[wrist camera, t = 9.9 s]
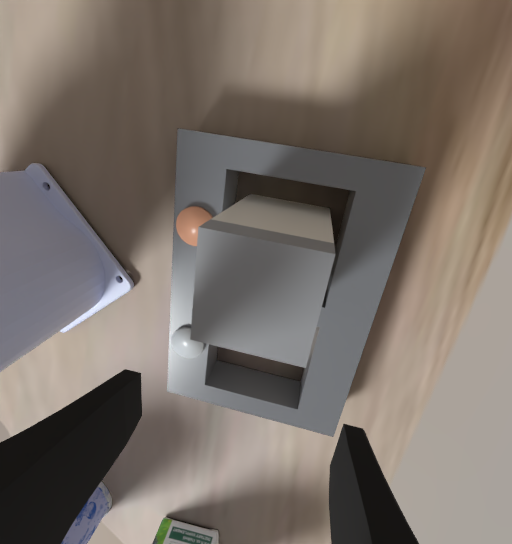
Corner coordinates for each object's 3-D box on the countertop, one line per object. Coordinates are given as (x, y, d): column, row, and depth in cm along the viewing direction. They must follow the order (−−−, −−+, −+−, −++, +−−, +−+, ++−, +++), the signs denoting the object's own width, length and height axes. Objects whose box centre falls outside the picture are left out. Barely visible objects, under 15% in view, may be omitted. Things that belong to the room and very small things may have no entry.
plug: (250, 193, 17) (198, 226, 10) (329, 208, 17) (335, 254, 9) (240, 266, 19) (190, 339, 12) (312, 281, 18) (305, 367, 11)
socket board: (197, 131, 17) (174, 127, 14) (410, 164, 15) (428, 168, 13) (182, 367, 23) (165, 394, 20) (332, 406, 21) (333, 440, 19)
